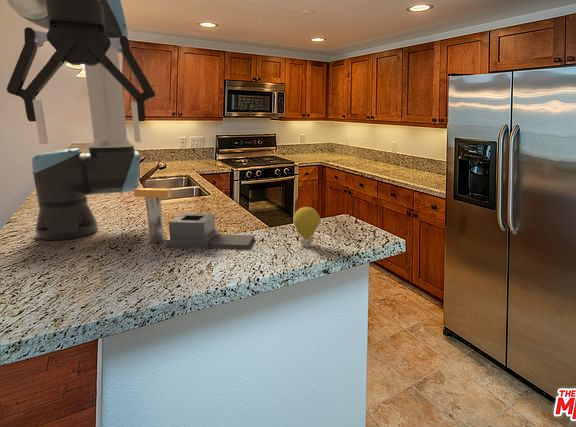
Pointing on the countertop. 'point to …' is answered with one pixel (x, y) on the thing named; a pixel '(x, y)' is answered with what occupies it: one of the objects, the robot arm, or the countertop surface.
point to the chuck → (192, 231)
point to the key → (154, 210)
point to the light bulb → (306, 224)
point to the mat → (232, 241)
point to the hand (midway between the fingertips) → (93, 142)
